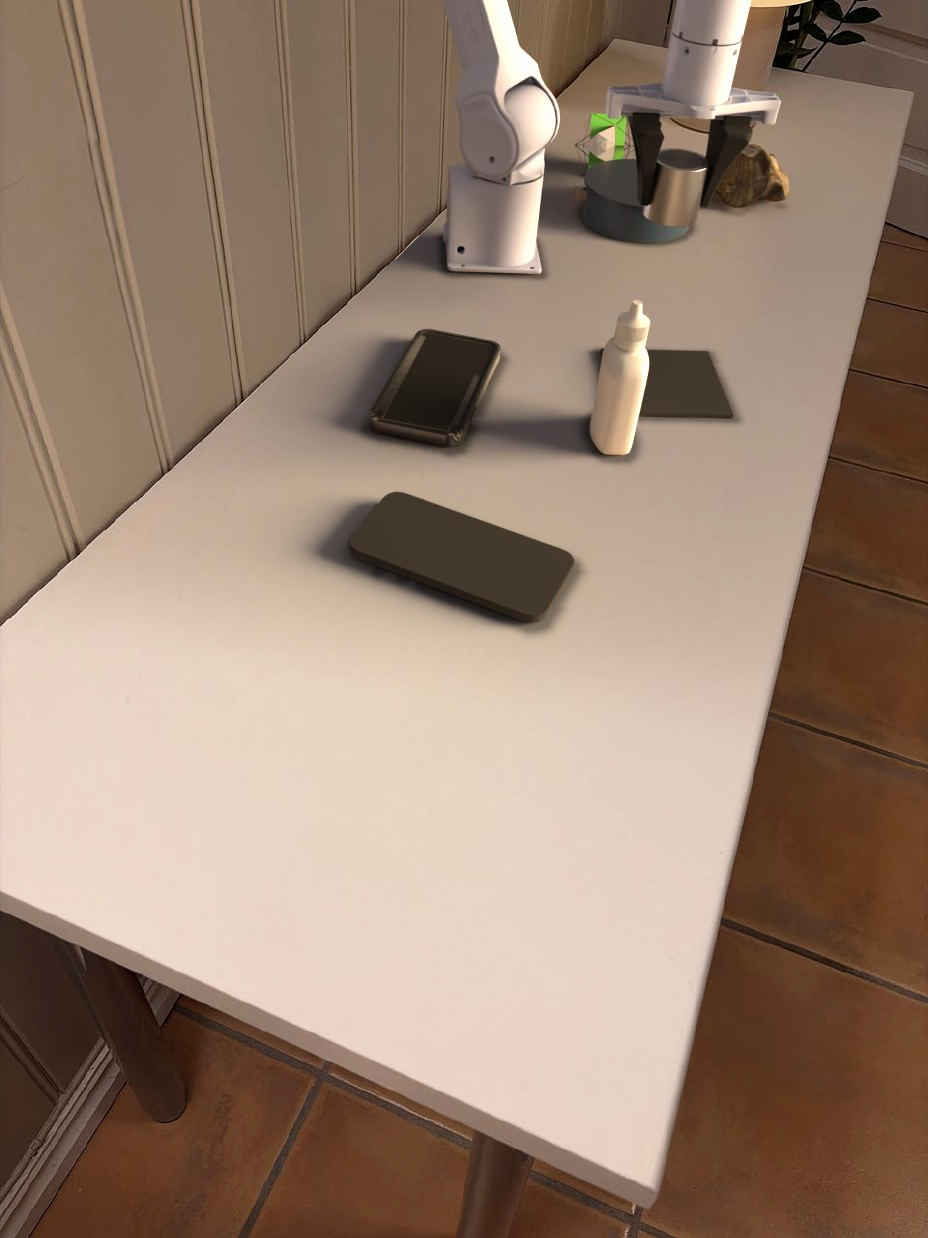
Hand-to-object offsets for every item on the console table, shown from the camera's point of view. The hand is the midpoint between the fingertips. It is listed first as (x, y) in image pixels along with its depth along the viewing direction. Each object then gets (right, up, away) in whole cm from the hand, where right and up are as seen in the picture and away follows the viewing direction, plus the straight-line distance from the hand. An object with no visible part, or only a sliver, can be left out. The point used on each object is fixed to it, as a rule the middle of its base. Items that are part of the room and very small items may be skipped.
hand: (671, 201), depth 89 cm
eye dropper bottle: (-7, -23, -8) cm, 26 cm away
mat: (-1, -17, -3) cm, 18 cm away
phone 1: (-21, -19, -6) cm, 29 cm away
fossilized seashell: (+14, +11, +25) cm, 31 cm away
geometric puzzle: (-2, +15, +28) cm, 32 cm away
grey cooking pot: (0, +7, +20) cm, 21 cm away
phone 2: (-19, -34, -20) cm, 44 cm away
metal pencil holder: (0, -1, +1) cm, 1 cm away
